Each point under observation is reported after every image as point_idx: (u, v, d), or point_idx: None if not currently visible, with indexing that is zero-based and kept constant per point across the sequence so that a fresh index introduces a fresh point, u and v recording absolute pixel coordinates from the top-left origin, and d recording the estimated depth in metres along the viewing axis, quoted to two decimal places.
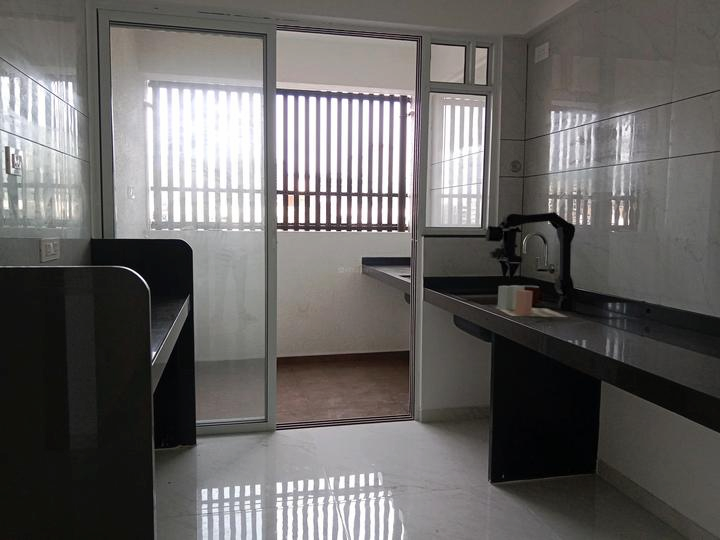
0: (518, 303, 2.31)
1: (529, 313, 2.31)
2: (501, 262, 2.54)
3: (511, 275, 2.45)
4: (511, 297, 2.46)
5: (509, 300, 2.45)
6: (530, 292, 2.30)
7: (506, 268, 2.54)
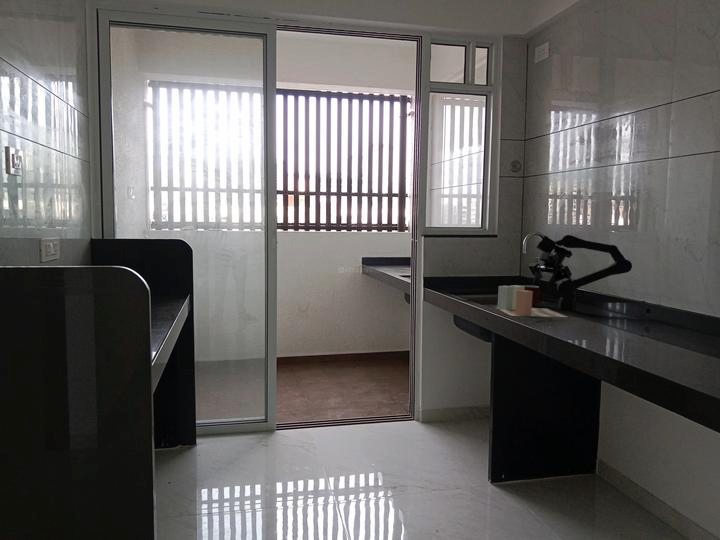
0: (518, 303, 2.31)
1: (529, 313, 2.31)
2: (538, 271, 2.50)
3: (550, 283, 2.43)
4: (511, 297, 2.46)
5: (509, 300, 2.45)
6: (530, 292, 2.30)
7: (538, 279, 2.50)
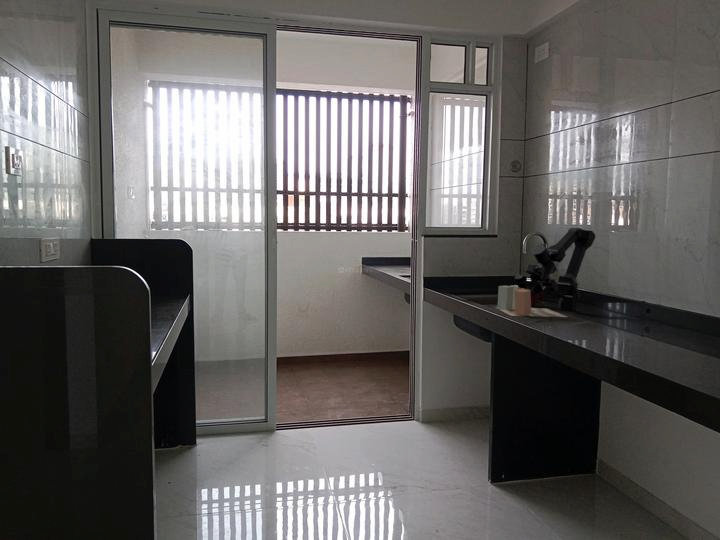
0: (517, 303, 2.31)
1: (529, 312, 2.31)
2: (530, 284, 2.35)
3: None
4: (511, 297, 2.46)
5: (509, 300, 2.45)
6: (528, 291, 2.29)
7: None
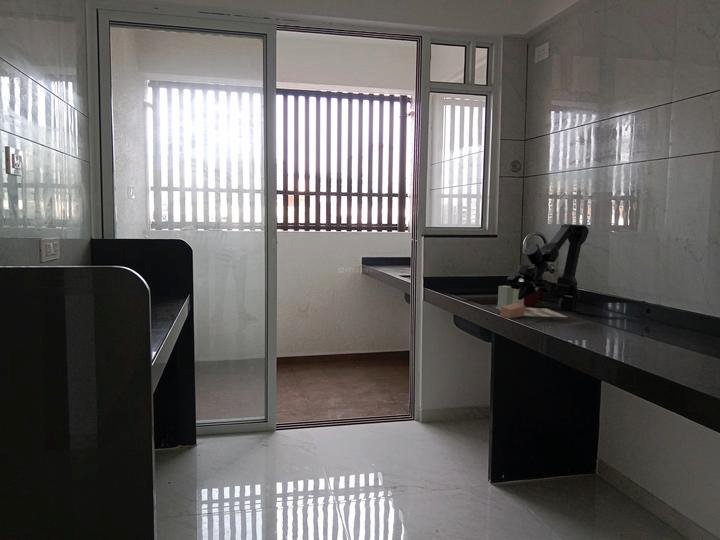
0: None
1: (523, 308, 2.28)
2: (523, 285, 2.32)
3: (521, 297, 2.29)
4: (511, 297, 2.46)
5: (509, 300, 2.45)
6: (510, 313, 2.23)
7: None
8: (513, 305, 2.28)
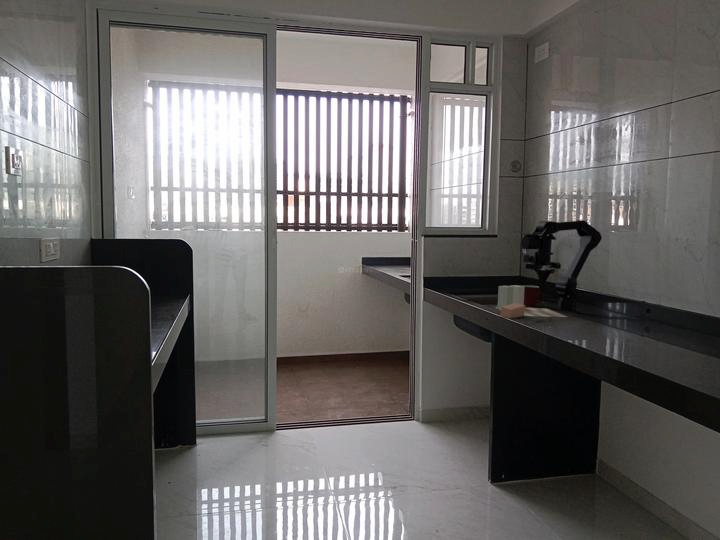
0: None
1: (523, 308, 2.28)
2: None
3: (541, 282, 2.46)
4: (511, 297, 2.46)
5: (509, 300, 2.45)
6: (510, 313, 2.23)
7: None
8: (513, 305, 2.28)
